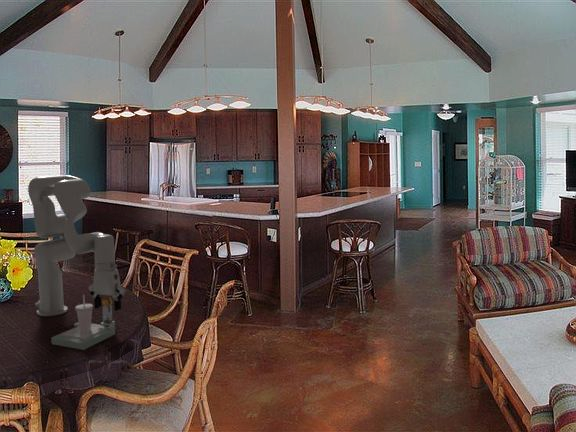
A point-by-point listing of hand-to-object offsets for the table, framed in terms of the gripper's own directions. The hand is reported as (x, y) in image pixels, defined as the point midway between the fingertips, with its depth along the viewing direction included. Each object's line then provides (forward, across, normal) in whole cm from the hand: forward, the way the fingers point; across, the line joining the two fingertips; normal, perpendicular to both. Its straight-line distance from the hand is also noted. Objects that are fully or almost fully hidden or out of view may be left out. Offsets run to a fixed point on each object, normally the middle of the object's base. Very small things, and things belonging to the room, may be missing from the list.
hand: (108, 308), depth 211 cm
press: (+9, +6, +9) cm, 14 cm away
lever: (+8, +1, 0) cm, 8 cm away
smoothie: (+6, +3, +10) cm, 12 cm away
